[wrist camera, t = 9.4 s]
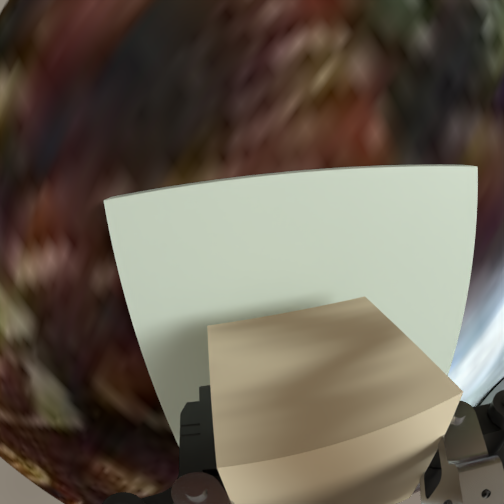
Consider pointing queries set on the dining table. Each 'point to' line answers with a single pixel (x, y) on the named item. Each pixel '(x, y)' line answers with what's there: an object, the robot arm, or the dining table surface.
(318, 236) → the sage board
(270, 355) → the beech cube
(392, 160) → the dining table surface
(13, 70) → the dining table surface
